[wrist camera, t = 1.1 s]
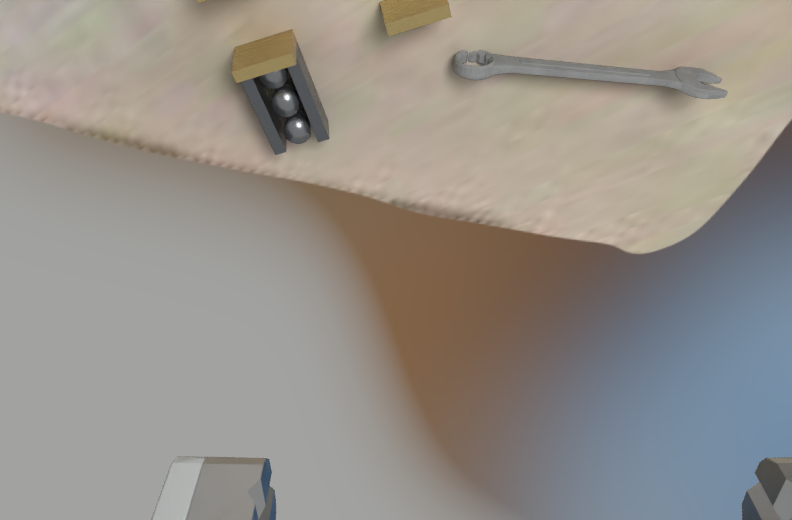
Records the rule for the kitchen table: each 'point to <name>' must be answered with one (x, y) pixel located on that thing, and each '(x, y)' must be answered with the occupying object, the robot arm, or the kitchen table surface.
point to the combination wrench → (588, 72)
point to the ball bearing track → (307, 74)
